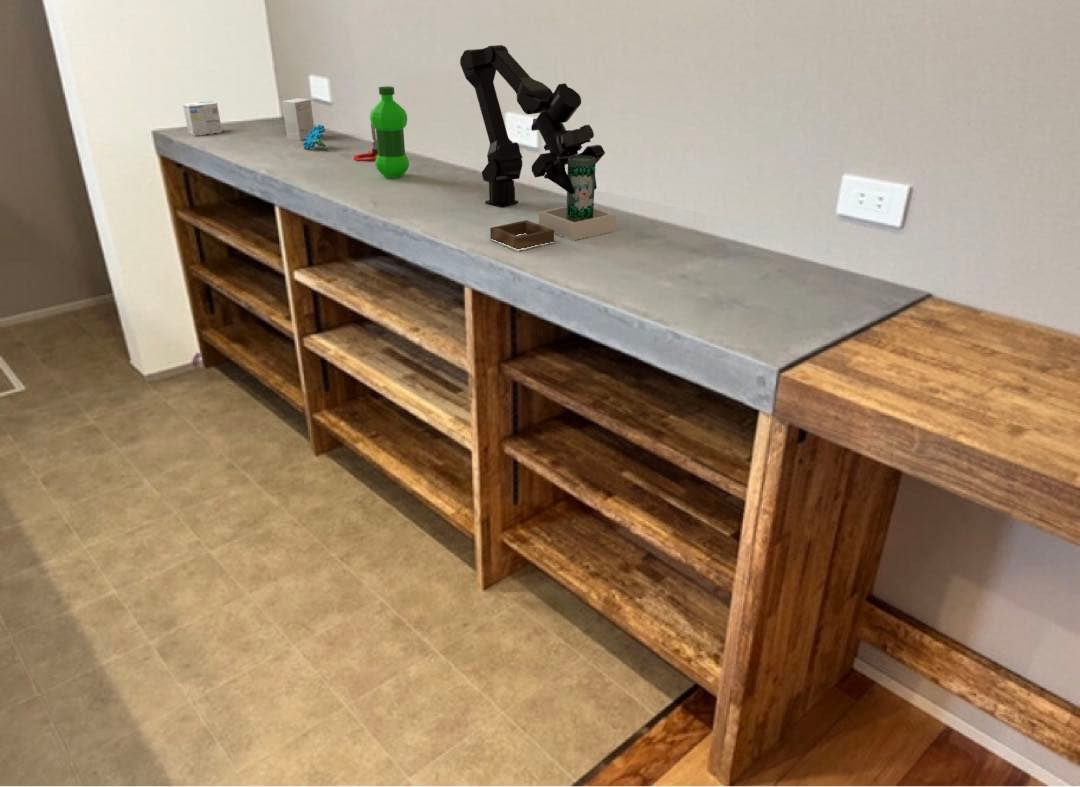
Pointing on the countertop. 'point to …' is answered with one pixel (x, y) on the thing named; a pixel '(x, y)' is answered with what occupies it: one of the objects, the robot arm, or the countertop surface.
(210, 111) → the light bulb box
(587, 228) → the bin
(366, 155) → the tow hook
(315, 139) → the blue flower bunch
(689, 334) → the countertop surface
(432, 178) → the countertop surface
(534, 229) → the holder
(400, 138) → the plastic bottle
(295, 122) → the small box
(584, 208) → the can
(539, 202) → the countertop surface
